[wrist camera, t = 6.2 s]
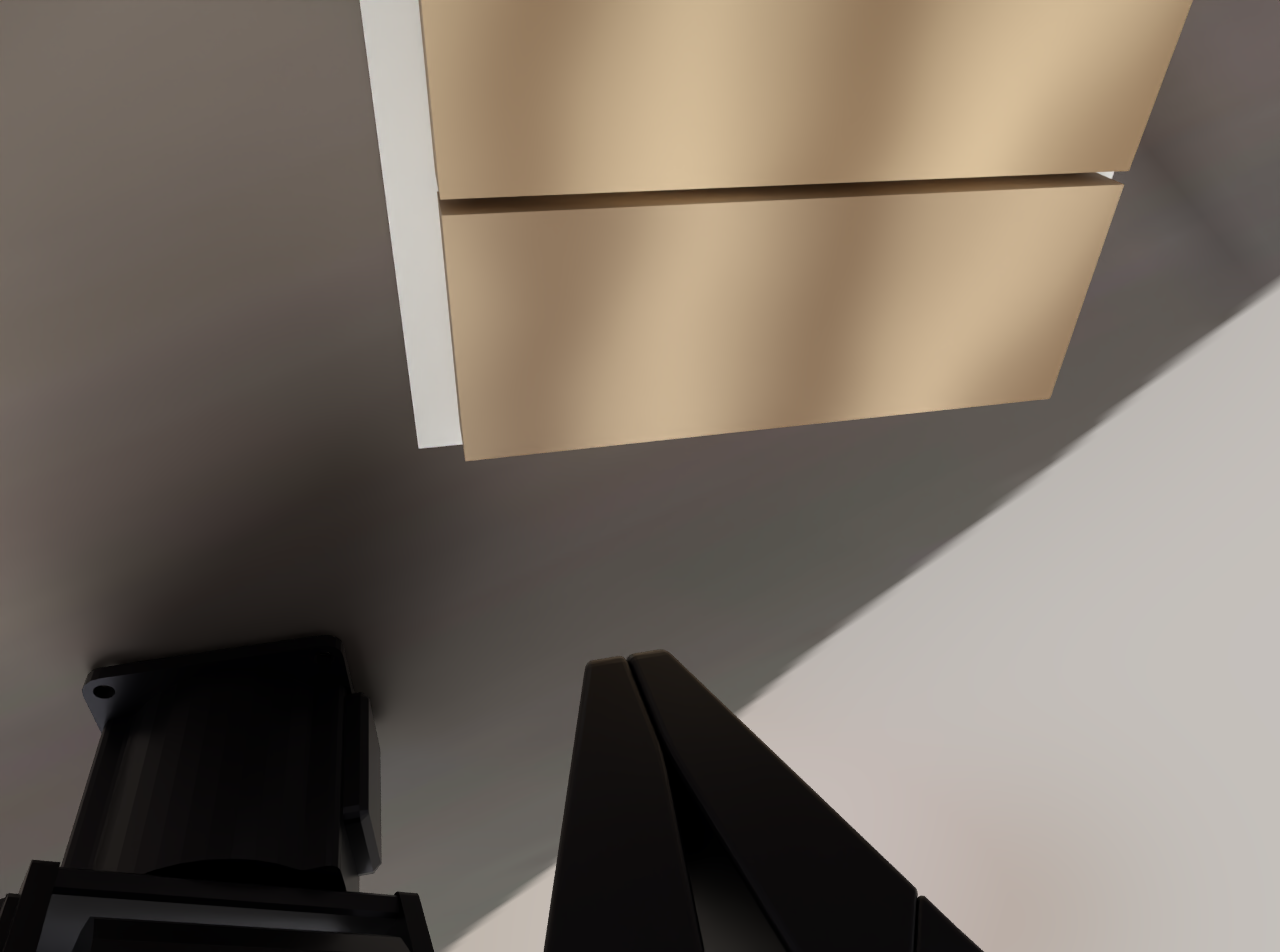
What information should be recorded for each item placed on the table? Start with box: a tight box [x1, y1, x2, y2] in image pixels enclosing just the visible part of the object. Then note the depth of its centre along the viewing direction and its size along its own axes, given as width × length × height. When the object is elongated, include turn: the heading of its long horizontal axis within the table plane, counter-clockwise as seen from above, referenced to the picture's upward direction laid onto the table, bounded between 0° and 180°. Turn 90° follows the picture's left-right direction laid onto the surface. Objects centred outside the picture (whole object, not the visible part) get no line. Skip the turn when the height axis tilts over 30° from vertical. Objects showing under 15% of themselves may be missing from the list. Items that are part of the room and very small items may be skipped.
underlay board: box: [360, 0, 1114, 449], centre depth 19 cm, size 17×14×1 cm
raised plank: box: [418, 0, 1193, 200], centre depth 16 cm, size 15×6×2 cm, turn 87°
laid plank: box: [437, 172, 1124, 461], centre depth 20 cm, size 15×6×2 cm, turn 87°
